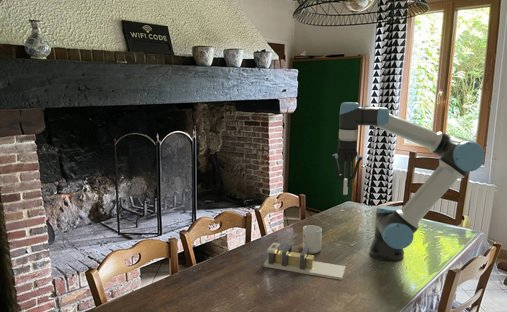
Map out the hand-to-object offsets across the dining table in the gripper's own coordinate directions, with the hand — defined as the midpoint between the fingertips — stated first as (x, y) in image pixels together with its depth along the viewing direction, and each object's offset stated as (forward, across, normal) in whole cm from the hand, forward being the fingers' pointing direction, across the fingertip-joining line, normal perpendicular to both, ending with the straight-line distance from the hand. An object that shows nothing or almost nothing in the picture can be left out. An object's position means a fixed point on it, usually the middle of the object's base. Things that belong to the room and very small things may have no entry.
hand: (345, 193), depth 168 cm
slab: (+32, +15, +9) cm, 37 cm away
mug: (+33, +17, -11) cm, 38 cm away
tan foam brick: (+31, +21, +9) cm, 39 cm away
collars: (+31, +22, +9) cm, 40 cm away
